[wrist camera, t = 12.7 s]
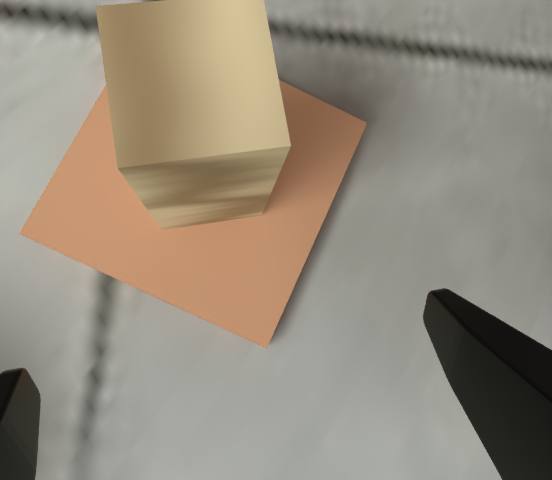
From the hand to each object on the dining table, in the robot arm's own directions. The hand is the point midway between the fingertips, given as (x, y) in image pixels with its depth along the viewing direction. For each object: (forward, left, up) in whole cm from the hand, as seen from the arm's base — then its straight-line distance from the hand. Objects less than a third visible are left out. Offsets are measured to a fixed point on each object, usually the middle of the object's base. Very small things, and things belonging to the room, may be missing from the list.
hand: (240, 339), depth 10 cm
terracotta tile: (+4, -6, -14) cm, 16 cm away
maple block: (+4, -6, -12) cm, 15 cm away
